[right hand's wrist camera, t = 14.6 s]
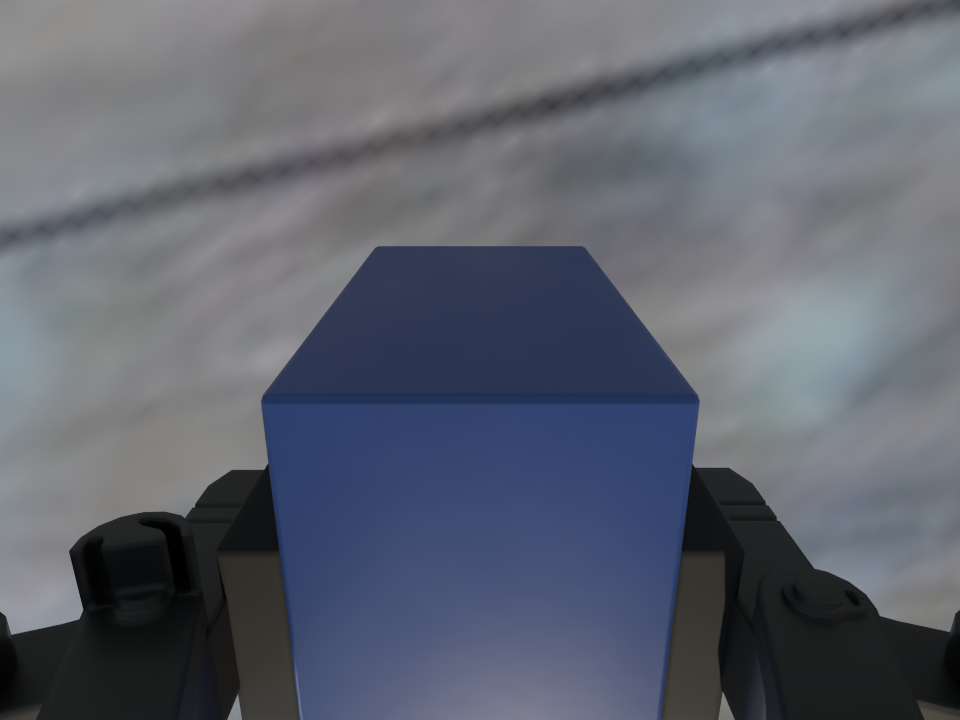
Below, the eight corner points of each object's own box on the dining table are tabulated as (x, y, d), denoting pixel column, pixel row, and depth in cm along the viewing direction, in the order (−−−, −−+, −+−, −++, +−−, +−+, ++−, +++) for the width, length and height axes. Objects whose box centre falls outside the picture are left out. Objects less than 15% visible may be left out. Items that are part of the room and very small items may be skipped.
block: (389, 510, 18) (312, 846, 10) (374, 245, 15) (256, 396, 7) (571, 510, 18) (648, 846, 10) (586, 245, 15) (704, 396, 7)
